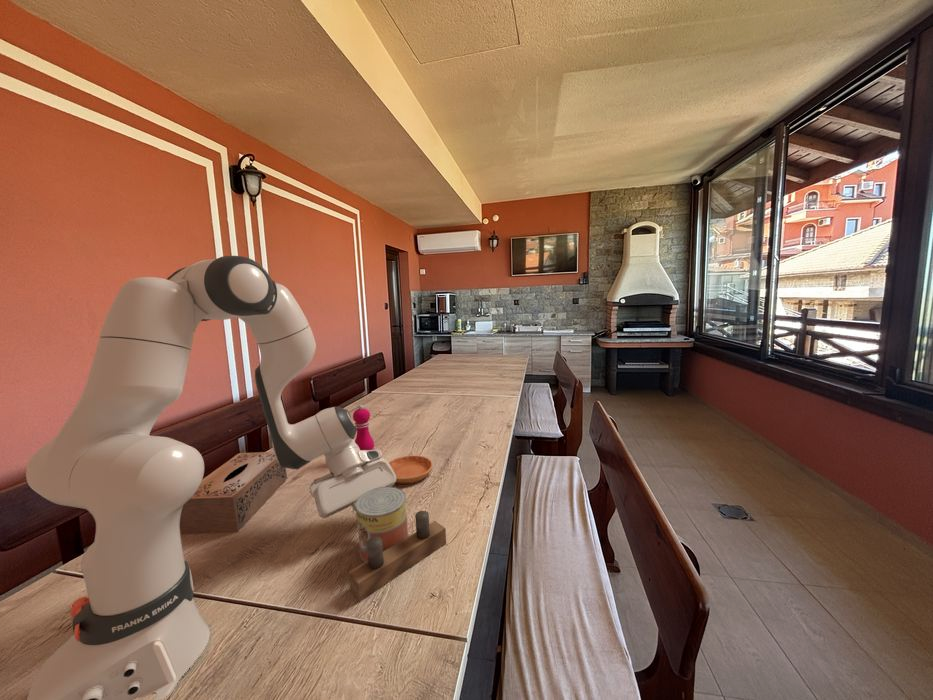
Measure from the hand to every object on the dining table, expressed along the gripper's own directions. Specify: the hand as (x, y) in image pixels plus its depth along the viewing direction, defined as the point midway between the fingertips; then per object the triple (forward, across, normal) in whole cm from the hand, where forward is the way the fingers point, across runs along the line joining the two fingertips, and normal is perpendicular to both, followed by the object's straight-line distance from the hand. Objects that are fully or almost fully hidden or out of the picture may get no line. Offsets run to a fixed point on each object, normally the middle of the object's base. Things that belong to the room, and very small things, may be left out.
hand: (369, 517), depth 86 cm
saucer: (-9, +24, +17) cm, 30 cm away
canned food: (+8, 0, -1) cm, 8 cm away
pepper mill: (-24, +20, +32) cm, 45 cm away
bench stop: (+13, 0, -6) cm, 15 cm away
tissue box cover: (-25, -19, +33) cm, 45 cm away
